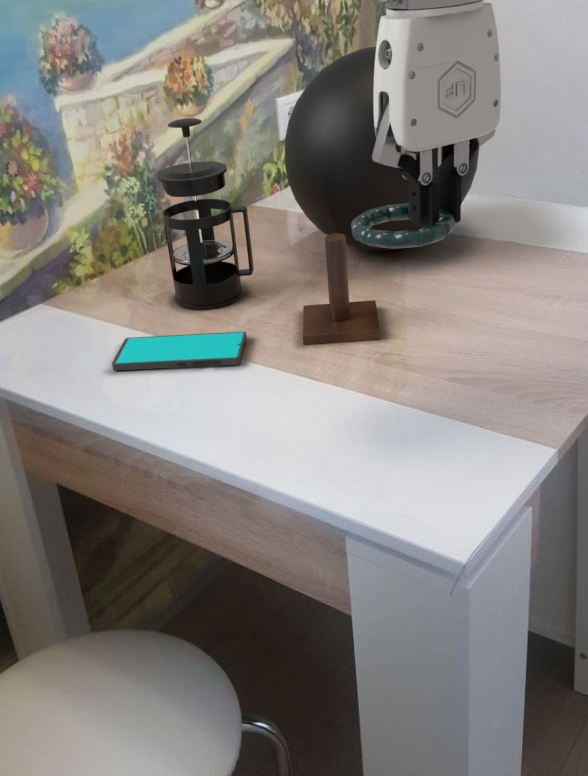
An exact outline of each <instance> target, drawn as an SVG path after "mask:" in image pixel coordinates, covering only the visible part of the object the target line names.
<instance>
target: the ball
mask: <svg viewBox="0 0 588 776" xmlns="http://www.w3.org/2000/svg"><path fill="white" fill-rule="evenodd" d="M375 54H376V46H369V47H363V48H360V49H357V50H355V51H352V52H349V53H347V54H344V55H342V56H340V57H338V58H337V59H335V60H334V61H332V62H331V63H329V64H328V65H326V66H325V67H323V68H322V69H321V70H320V71H319V72H318V73H317V74H316V75H315V77H313V78H312V79H311V80H310V82H308V83H307V85H306V86H305V88H304V89H303V91H302V92H301V94H300V96H299V97H298V99H297V100H296V102H295V104H294V107H293V109H292V111H291V114H290V112H288V113H287V114H288V115H290V117H289V119H288V122H287V127H286V133H285V137H284V167H285V173H286V178H287V183H288V185H289V188H290V190H291V193H292V195H293V198H294V200H295V202H296V203H297V206H299V208H300V210H302V212H303V214H304V215H305V216H306V218H307V219H308V221H310V222H311V223H312V224H313V225H314V227H316V228H317V229H318V230H319V231H320V232H322V233H323V234H325V235H326V236H327V235H330V234H336V233H339V234H344V235H345V236H346V246H349V247H351V248H355V249H359V250H362V251H363V250H364V251H373V252H374V251H375V252H377V251H378V252H379V251H381V252H382V251H383V252H384V251H391V250H394V249H392V248H382V247H372V246H369V245H367V244H364V243H362V242H360V241H357V240H356V239H355V238H354V237H353V235H352V229H351V223H352V221H353V220H354V219H355V218H356V217H358V216H359V215H361V214H362V213H364V212H365V211H367V210H371V209H374V208H378V207H382V206H385V205H394V204H405V203H409V181H408V180H406V179H404V178H403V177H402V174H401V173H400V172H399V171H398V170H397V169H396V168H395V167H391V166H387V165H383V164H379V163H376V162H374V161H373V160H372V154H373V150H374V146H375V142H376V139H377V138H376V133H375V126H374V103H373V93H374V67H375ZM453 145H454V144H453ZM396 150H397V152H400V153H401V146H400V145H398V144H397V143H396ZM479 155H480V147H478V149H477V151H476V152H475V154H474V155H473V157H472V158H471V160H470V161H469V168H468V171H467V173H466V174H465V175H463V176H462V187H461V205H463V202H464V201H465V199H466V197H467V195H468V193H469V191H470V189H471V188H472V184H473V183H474V179H475V176H476V174H477V170H478V162H479ZM416 161H417V154H416ZM434 171H439V168H438V148H434V149H432V176H433V172H434ZM431 182H432V181H431ZM370 228H373V229H375V230H384V231H406V230H417V229H421V228H423V227H420V226H417V225H415V224H412V222H411V219H406V220H395V221H387V222H383V223H380V224H376V225H373V226H371V227H370Z"/></svg>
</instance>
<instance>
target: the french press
mask: <svg viewBox="0 0 588 776" xmlns="http://www.w3.org/2000/svg"><path fill="white" fill-rule="evenodd" d="M202 122H203V120H202V119H200V118H196V117H186V118H179V119H176V120H175V119H174V120H172V121H171V122H169V123H168V124H167V127H169V128H171V129H172V128H173V129H181V134H182V137H183V138H185V143H186V144H185V145H186V151H187V159H188V162H185V163H181V164H175V165H171V166H169V167H165V168H163V169H161V170H160V171H158V172H157V173H156V177H155V178H156V180H157V181H159V182H160V183H161V186H162V188H163V191H164V192H165V193H166V195H168V196H169V197H174V198H189V197H190V198H191V197H193V199H192V200H186V201H182V202H179V203H175V204H172V205H170V206H168V207H167V208H165V209H164V210H163V211H162V218H163V225H164V226H163V227H164V231H165V238H166V245H167V250H168V256H169V263H170V269H171V275H172V280H173V281H172V282H173V288H174V293H175V294H174V301H175V304H176V305H177V306H179V307H181V308H183V309H187V310H193V311H194V310H195V311H204V310H213V309H219V308H223V307H226V306H230V305H231V304H234V303H236V302H237V301H239V300H240V299H241V298H243V295H244V292H245V291H244V287H243V285H242V281H241V277H246V276H248V277H250V276H252V275H253V272H254V268H255V267H254V257H253V249H252V240H251V239H252V238H251V232H250V231H251V230H250V223H249V214H248V213H249V212H248V208H247V206H245V205H240V206H239V205H238V206H232V203H231V202H230V201H227V200H226V199H220V198H200V199H198V196H199V197H200V196H203V195H208V194H211V193H215V192H218V191H220V190H222V189H223V188H225V186H226V177H225V174H226V172H227V171H228V166H227V165H226V164H225V163H223V162H218V161H192V154H191V153H192V152H191V146H190V141H189V137H191V130H190V127H195V126H197V125H200V124H202ZM212 210H221V211H223V212H219V213H218V214H214V215H212ZM192 211H195V215H196V218H193V219H178V218H172V217H174V216H177V215H180V214H183V213H186V212H192ZM237 213H241V214H242V217H243V225H244V226H243V227H244V235H245V244H246V252H247V262H248V267H249V268H245V269H244V268H242V269H240V264H239V257H238V247H237V237H236V231H235V223H234V215H233V214H237ZM227 222H229V226H230V227H229V228H230V236H231V242H229V241H227V240H219V239H216V238H215V230H214V227H218V226H220V225H223V224H225V223H227ZM171 230H175V231H184V232H185V237H186V243H187V244H186V243H185V244H183V245H181V246H178V247H177V248H175V249H174V248H173V241H172V234H171ZM232 256H233V261H234V263H233V262H228V261H225V260H227V259H230V258H231V257H232ZM176 264H178V265H181V266H184V267H182V268H180V269H178V270H177V265H176Z"/></svg>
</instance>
